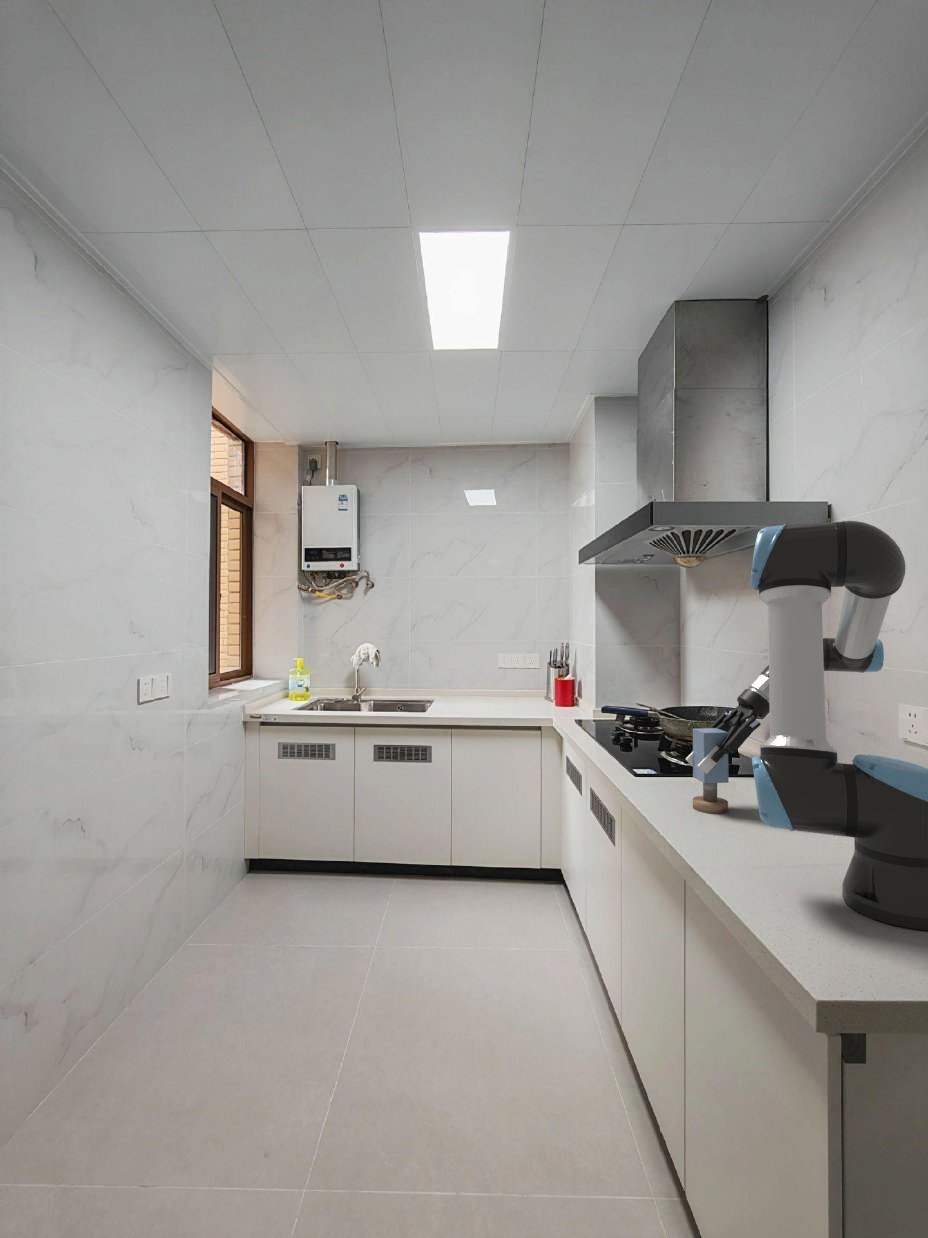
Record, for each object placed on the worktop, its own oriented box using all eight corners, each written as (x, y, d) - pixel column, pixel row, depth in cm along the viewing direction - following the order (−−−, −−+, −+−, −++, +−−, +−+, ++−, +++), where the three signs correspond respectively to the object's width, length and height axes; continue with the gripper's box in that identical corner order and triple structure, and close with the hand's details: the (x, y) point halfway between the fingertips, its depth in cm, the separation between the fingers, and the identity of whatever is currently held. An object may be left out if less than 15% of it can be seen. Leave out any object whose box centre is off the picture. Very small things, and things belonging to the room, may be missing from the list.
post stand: (727, 815, 146) (727, 781, 146) (691, 811, 149) (690, 777, 149) (729, 806, 153) (728, 773, 153) (694, 802, 156) (694, 770, 156)
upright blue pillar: (728, 782, 149) (728, 732, 149) (704, 783, 148) (703, 733, 148) (716, 776, 155) (716, 728, 155) (693, 777, 154) (692, 728, 154)
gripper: (793, 714, 143) (725, 787, 142) (749, 703, 162) (689, 767, 161) (771, 692, 143) (702, 764, 141) (729, 683, 162) (669, 747, 160)
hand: (695, 766), depth 151 cm, fingers closed on upright blue pillar, 6 cm apart
